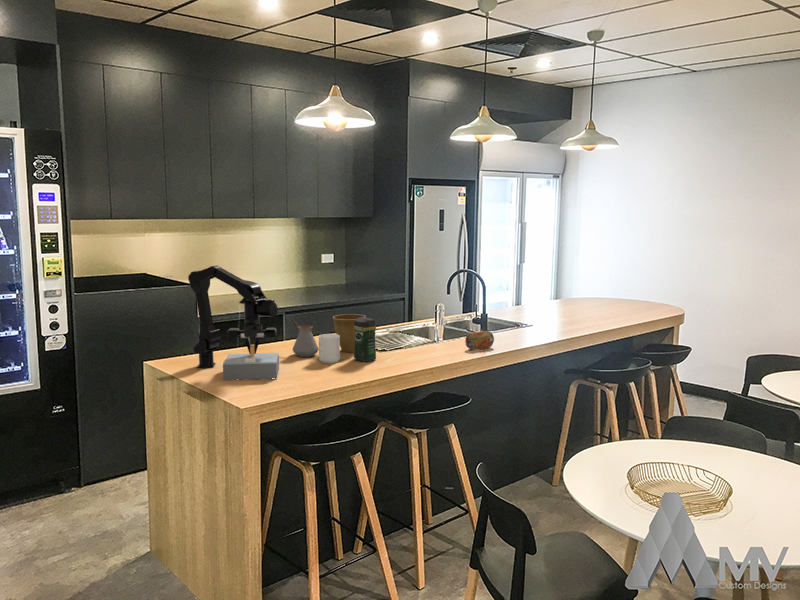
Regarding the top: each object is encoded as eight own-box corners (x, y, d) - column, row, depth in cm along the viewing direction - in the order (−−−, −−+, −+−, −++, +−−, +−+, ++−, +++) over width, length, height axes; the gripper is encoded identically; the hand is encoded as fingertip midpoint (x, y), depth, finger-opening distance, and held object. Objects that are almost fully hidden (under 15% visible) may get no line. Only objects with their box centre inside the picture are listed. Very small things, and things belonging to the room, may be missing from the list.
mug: (343, 362, 277) (343, 336, 275) (323, 364, 273) (323, 338, 271) (332, 356, 287) (331, 331, 286) (313, 358, 283) (313, 333, 281)
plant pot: (355, 345, 309) (355, 312, 307) (371, 352, 297) (371, 317, 294) (327, 349, 301) (327, 315, 299) (342, 355, 289) (342, 320, 286)
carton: (228, 369, 262) (228, 355, 261) (279, 368, 265) (278, 354, 264) (223, 380, 247) (222, 365, 246) (276, 379, 249) (276, 364, 248)
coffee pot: (323, 356, 288) (323, 322, 286) (299, 359, 281) (299, 325, 279) (301, 347, 305) (301, 315, 303) (279, 350, 299) (278, 318, 296)
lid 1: (228, 355, 261) (228, 344, 261) (278, 354, 264) (278, 343, 263) (226, 359, 254) (225, 348, 253) (277, 358, 256) (277, 347, 255)
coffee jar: (379, 360, 281) (379, 318, 278) (365, 363, 276) (365, 320, 273) (364, 356, 288) (365, 315, 285) (350, 359, 283) (350, 317, 280)
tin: (467, 351, 301) (468, 333, 300) (464, 349, 304) (464, 332, 303) (494, 348, 308) (494, 330, 307) (490, 346, 311) (490, 329, 310)
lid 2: (226, 359, 253) (225, 355, 253) (277, 358, 256) (277, 354, 256) (223, 364, 246) (223, 360, 246) (276, 363, 248) (276, 359, 248)
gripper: (224, 319, 247) (225, 359, 249) (274, 318, 249) (275, 358, 252) (228, 314, 258) (229, 352, 260) (276, 313, 260) (277, 351, 263)
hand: (252, 353), depth 258 cm, fingers closed on lid 1, 2 cm apart
